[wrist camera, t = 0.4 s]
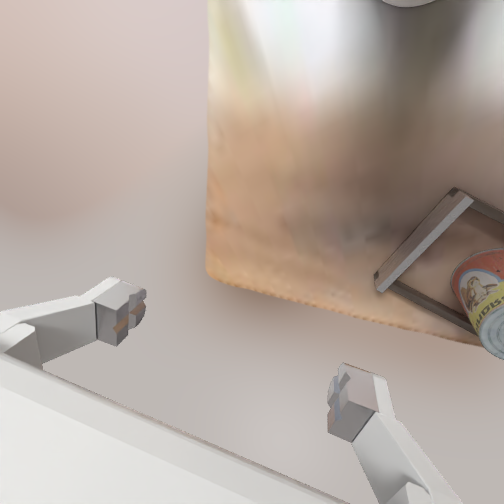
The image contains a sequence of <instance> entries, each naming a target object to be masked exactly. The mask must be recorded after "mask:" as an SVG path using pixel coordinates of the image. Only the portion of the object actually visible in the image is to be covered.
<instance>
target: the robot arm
mask: <svg viewBox="0 0 504 504" xmlns="http://www.w3.org/2000/svg"><path fill="white" fill-rule="evenodd" d="M382 1H384V2H385V3H388V4H390V5H394V6H398V7H414V6H420V5H424V4H427V3H430V2H432V1H435V0H382ZM145 298H146V290H145V289H143V288H141V287H138V286H136V285H133V284H131V283H128V282H126V281H123V280H120V279H118V278H115V277H108V278H107V279H105V280H104V281H102V282H101V283H99V284H98V285H96V286H95V287H93V288H92V289H90V290H89V291H87V292H86V293H84V294H83V295H81V296H80V297H78V296H71V297H66V298H62V299H57V300H52V301H48V302H43V303H38V304H33V305H28V306H24V307H19V308H14V309H9V310H5V311H0V504H350V503H347V502H345V501H343V500H340V499H338V498H336V497H334V496H331V495H329V494H327V493H324V492H322V491H320V490H317V489H315V488H313V487H310V486H308V485H306V484H303V483H301V482H299V481H297V480H294V479H292V478H290V477H288V476H285V475H283V474H281V473H278V472H276V471H274V470H271V469H269V468H267V467H265V466H262V465H260V464H258V463H255V462H253V461H251V460H248V459H246V458H244V457H242V456H239V455H237V454H235V453H232V452H230V451H228V450H225V449H223V448H221V447H218V446H216V445H214V444H211V443H209V442H207V441H205V440H202V439H200V438H198V437H195V436H193V435H191V434H189V433H186V432H184V431H182V430H179V429H177V428H175V427H173V426H170V425H168V424H165V423H163V422H161V421H159V420H156V419H154V418H152V417H149V416H147V415H145V414H143V413H140V412H138V411H136V410H134V409H131V408H129V407H127V406H124V405H122V404H120V403H117V402H115V401H113V400H111V399H108V398H106V397H104V396H101V395H99V394H97V393H95V392H92V391H90V390H87V389H85V388H83V387H81V386H78V385H76V384H74V383H71V382H69V381H67V380H65V379H62V378H60V377H58V376H55V375H53V374H51V373H49V372H46V371H44V370H43V366H42V364H43V363H45V362H48V361H50V360H52V359H54V358H57V357H59V356H61V355H64V354H66V353H69V352H71V351H73V350H75V349H78V348H80V347H83V346H85V345H87V344H89V343H92V342H94V341H96V340H100V341H103V342H105V343H108V344H111V345H114V346H118V344H120V343H121V342H122V340H123V339H125V337H126V336H127V335H128V330H129V329H132V328H135V327H136V326H137V325H138V324H139V323H140V321H141V320H142V318H143V316H144V314H145V308H146V306H145V304H144V302H143V300H144V299H145ZM328 404H329V406H330V408H331V409H330V411H329V413H328V433H330V434H332V435H335V436H337V437H340V438H342V439H344V440H346V441H349V442H351V443H352V447H353V449H354V451H355V453H356V455H357V457H358V459H359V461H360V464H361V466H362V468H363V470H364V472H365V474H366V476H367V478H368V481H369V483H370V485H371V487H372V489H373V491H374V493H375V495H376V498H377V499H378V502H379V504H463V502H462V501H461V500H460V498H459V497H458V496H457V494H456V493H455V492H454V491H453V489H452V488H451V487H450V485H449V484H448V483H447V481H446V480H445V479H444V477H443V476H442V475H441V474H440V472H439V471H438V470H437V468H436V467H435V466H434V464H433V463H432V462H431V460H430V459H429V458H428V457H427V455H426V454H425V453H424V451H423V450H422V449H421V447H420V446H419V445H418V443H417V442H416V441H415V440H414V438H413V437H412V436H411V434H410V433H409V432H408V430H407V429H406V428H405V426H404V425H403V424H402V423H401V421H398V420H396V416H395V412H394V408H393V404H392V400H391V396H390V392H389V388H388V384H387V380H386V379H385V377H383V376H380V375H377V374H374V373H371V372H368V371H365V370H363V369H360V368H357V367H354V366H351V365H349V364H346V363H342V364H341V365H340V367H339V369H338V376H335V377H334V378H333V379H332V381H331V383H330V387H329V391H328Z"/></svg>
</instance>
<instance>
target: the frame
mask: <svg viewBox="0 0 504 504" xmlns="http://www.w3.org/2000/svg"><path fill="white" fill-rule="evenodd" d="M468 206H469V207H471V208H472V209H474V210H476V211H478V212H480V213H482V214H484V215H486V216H488V217H490V218H492V219H494V220H496V221H498V222H500V223H502V224H504V212H503V211H501V210H499V209H497V208H495V207H493V206H491V205H489V204H487V203H485V202H483V201H481V200H480V199H478V198H476V197H474V196H472V195H470V194H468V193H466V192H464V191H462V190H460V189H458V188H456V187H454V188H453V189H452V190H451V191H450V192H449V193H448V194H447V195H446V196H445V197H444V199H443V200H442V201H441V202H440V203H439V204H438V205H437V206H436V207H435V208H434V210H433V211H432V212H431V213H430V214H429V215H428V216H427V217H426V218H425V219H424V220H423V222H422V223H421V224H420V225H419V226H418V227H417V228H416V229H415V230H414V231H413V233H412V234H411V235H410V236H409V237H408V238H407V239H406V240H405V241H404V242H403V243H402V245H401V246H400V247H399V248H398V249H397V250H396V251H395V252H394V253H393V254H392V256H391V257H390V258H389V259H388V260H387V261H386V262H385V263H384V264H383V265H382V266H381V268H380V269H379V270H378V271H377V272H376V273H375V274H374V279H375V286H376V290H378V291H380V292H381V293H383V292H384V291H385V290H386V289H387V288H389V289H390V290H392V291H394V292H396V293H398V294H400V295H402V296H404V297H405V298H407V299H409V300H411V301H413V302H415V303H417V304H419V305H420V306H422V307H424V308H426V309H428V310H430V311H432V312H434V313H436V314H437V315H439V316H441V317H443V318H445V319H447V320H449V321H451V322H452V323H454V324H456V325H458V326H460V327H462V328H464V329H466V330H467V331H469V332H471V333H473V334H475V335H477V336H478V334H477V332H476V331H475V329H474V327H473V325H472V323H471V321H470V320H469V318H467V317H465V316H463V315H461V314H459V313H458V312H456V311H454V310H452V309H450V308H448V307H446V306H444V305H442V304H441V303H439V302H437V301H435V300H433V299H431V298H429V297H427V296H426V295H424V294H422V293H420V292H418V291H416V290H414V289H412V288H410V287H409V286H407V285H405V284H403V283H401V282H399V281H397V280H396V279H397V278H398V277H399V276H400V275H401V274H402V273H403V272H404V271H405V270H406V269H407V268H408V267H409V266H410V265H411V264H412V263H413V262H414V261H415V260H416V259H417V258H418V257H419V256H420V255H421V254H422V253H423V252H424V251H425V250H426V249H427V248H428V247H429V246H430V245H431V244H432V243H433V242H434V241H435V240H436V239H437V238H438V237H439V236H440V235H441V234H442V233H443V232H444V231H445V230H446V229H447V228H448V227H449V226H450V225H451V224H452V223H453V222H454V221H455V219H456V218H457V217H458V216H459V215H460V214H461V213H462V212H463V211H464V210H465V209H466V208H467V207H468Z"/></svg>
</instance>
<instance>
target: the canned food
mask: <svg viewBox="0 0 504 504" xmlns="http://www.w3.org/2000/svg"><path fill="white" fill-rule="evenodd" d="M451 287H452V290H453V292H454V293H455V295H456V296H457V298H458V300H459V301H460V303H461V305H462V307H463V309H464V311H465V312H466V314H467V316H468V318H469V320H470V321H471V323H472V325H473V327H474V329H475V331H476V332H477V334H478V336H479V339H480V341H481V343H482V345H483V346H484V348H485V349H486V350H487V351H488V352H490V353H491V354H493V355H494V356H496V357H498V358H500V359H503V360H504V248H499V249H490V250H485V251H482V252H479V253H476V254H474V255H472V256H470V257H468V258H467V259H465V260H464V261H462V262H461V263H460V264H459V265H458V266H457V267H456V269H455V270H454V272H453V274H452V277H451Z"/></svg>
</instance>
